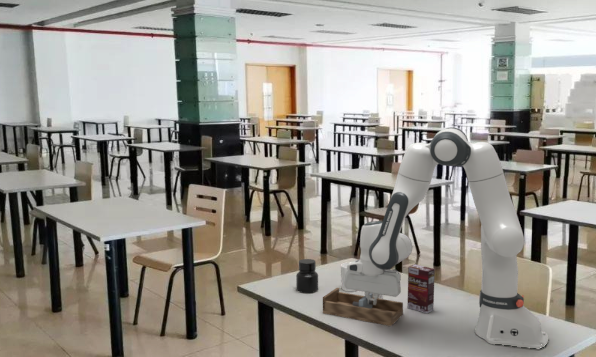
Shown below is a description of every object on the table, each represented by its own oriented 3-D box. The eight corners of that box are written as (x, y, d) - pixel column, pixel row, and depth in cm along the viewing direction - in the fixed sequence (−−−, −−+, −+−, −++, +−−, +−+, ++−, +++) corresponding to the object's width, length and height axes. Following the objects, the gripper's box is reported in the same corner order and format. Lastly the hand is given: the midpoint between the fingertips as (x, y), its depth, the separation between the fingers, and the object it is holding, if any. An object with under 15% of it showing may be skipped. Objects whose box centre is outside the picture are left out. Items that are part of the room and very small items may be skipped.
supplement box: (406, 308, 216) (407, 266, 214) (413, 304, 220) (414, 263, 217) (427, 314, 210) (428, 271, 208) (434, 310, 214) (435, 268, 211)
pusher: (372, 307, 214) (372, 293, 213) (362, 315, 206) (362, 301, 205) (358, 304, 216) (358, 291, 216) (348, 312, 209) (348, 298, 208)
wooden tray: (402, 314, 210) (403, 298, 209) (391, 326, 199) (391, 309, 199) (336, 302, 222) (336, 287, 222) (322, 313, 212) (322, 297, 211)
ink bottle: (319, 286, 241) (319, 258, 240) (318, 293, 233) (318, 264, 231) (296, 286, 242) (296, 258, 241) (294, 293, 234) (294, 264, 232)
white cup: (363, 288, 239) (363, 264, 238) (354, 293, 233) (354, 269, 231) (346, 284, 243) (346, 261, 242) (337, 290, 237) (337, 266, 235)
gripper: (403, 268, 204) (403, 306, 206) (349, 260, 214) (349, 296, 216) (397, 273, 199) (396, 312, 201) (342, 264, 209) (342, 302, 211)
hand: (372, 304), depth 209 cm, fingers closed
